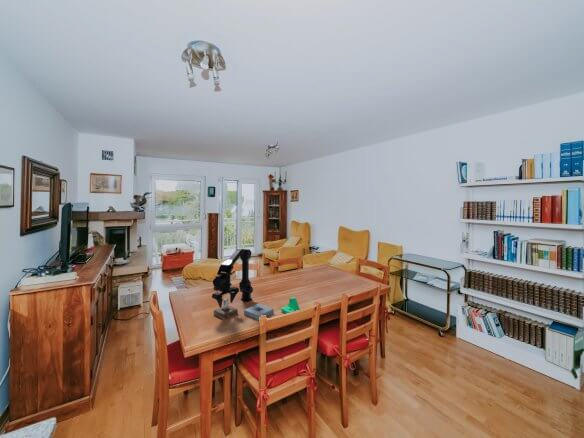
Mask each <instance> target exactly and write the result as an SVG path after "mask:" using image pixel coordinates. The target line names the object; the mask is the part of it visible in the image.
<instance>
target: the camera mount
mask: <svg viewBox="0 0 584 438" xmlns="http://www.w3.org/2000/svg"><path fill="white" fill-rule="evenodd" d="M296 310H300V311H301V308H300V306H299V303H298V300H297V298H296V297H295V296H294V297H290V298H289V300H288V304H287V305H285V306H282V307H281V308H280V311H282V312H283V314H285V313H290V312H293V311H296ZM285 315H286V314H285Z"/></svg>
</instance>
